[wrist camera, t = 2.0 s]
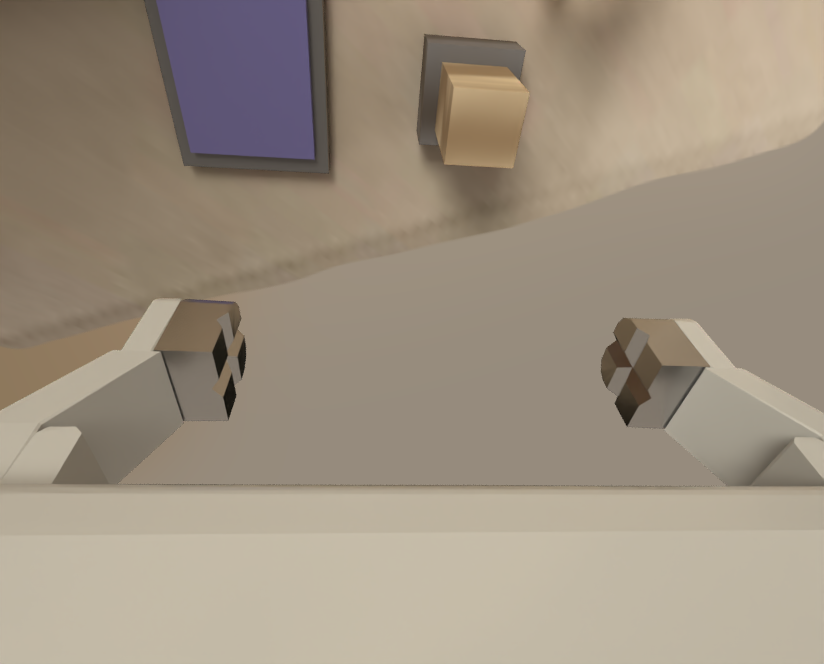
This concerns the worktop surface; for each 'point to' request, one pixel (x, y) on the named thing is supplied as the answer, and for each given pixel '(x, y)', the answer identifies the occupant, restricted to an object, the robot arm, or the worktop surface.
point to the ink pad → (245, 81)
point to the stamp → (472, 100)
